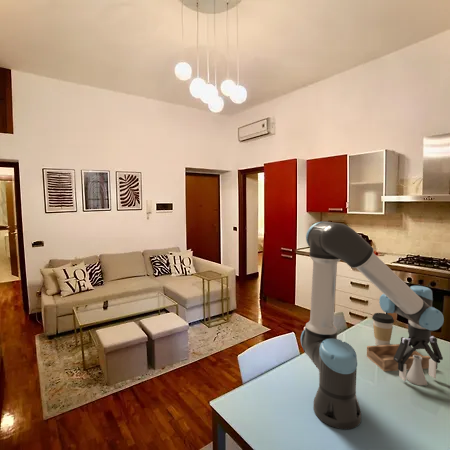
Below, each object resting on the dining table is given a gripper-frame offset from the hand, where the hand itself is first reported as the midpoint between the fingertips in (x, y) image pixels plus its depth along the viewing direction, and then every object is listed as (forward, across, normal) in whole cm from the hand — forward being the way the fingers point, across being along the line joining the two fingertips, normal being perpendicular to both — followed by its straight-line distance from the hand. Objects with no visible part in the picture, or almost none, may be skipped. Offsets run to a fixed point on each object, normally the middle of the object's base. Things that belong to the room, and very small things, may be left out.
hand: (417, 377), depth 115 cm
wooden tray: (+2, +2, +14) cm, 14 cm away
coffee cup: (+2, +6, +30) cm, 31 cm away
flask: (+2, 0, 0) cm, 2 cm away
